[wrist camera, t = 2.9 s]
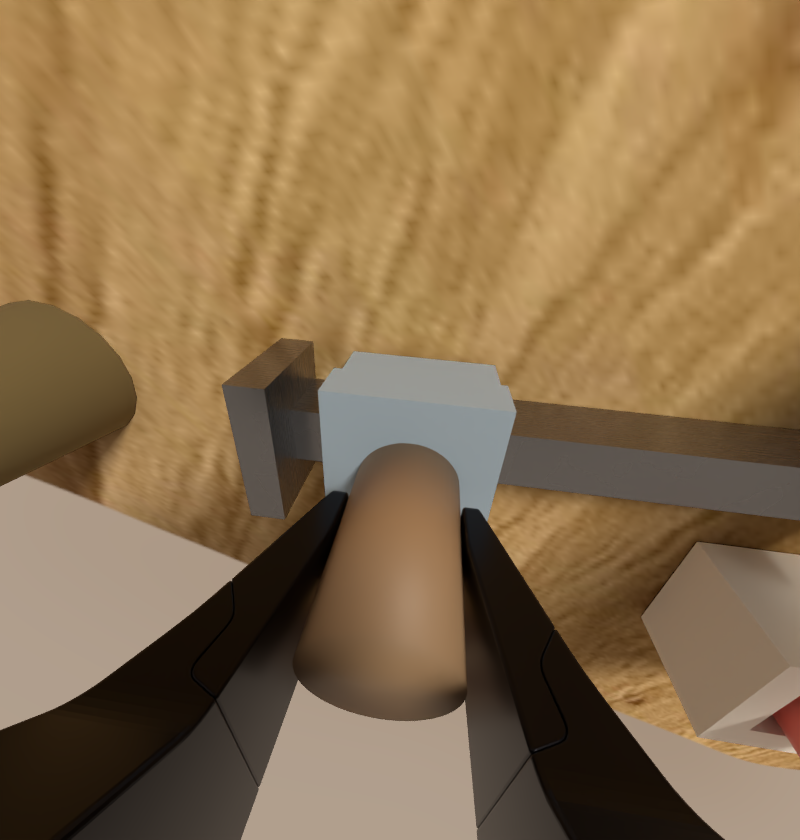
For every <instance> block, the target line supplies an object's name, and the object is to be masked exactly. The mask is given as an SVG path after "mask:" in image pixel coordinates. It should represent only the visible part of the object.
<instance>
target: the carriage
mask: <svg viewBox="0 0 800 840" xmlns="http://www.w3.org/2000/svg"><path fill="white" fill-rule="evenodd" d="M318 400H319V414H320V428H321V443H322V457H323V471H324V485H325V497H326V496H327V495H328V494H329V493H330V492H332V491H334V490H336V491H344V492H347V493H348V496H349V498H348V501H347V504H346V507H345V510H344V513H343V516H342V518H341V521H340V524H339V527H338V530H337V533H336V536H335V539H334V542H333V544H332V547H331V550H330V553H329V556H328V559H327V562H326V565H325V568H324V570H323V573H322V576H321V579H320V582H319V585H318V588H317V591H316V594H315V597H314V599H313V602H312V605H311V608H310V611H309V614H308V617H307V620H306V623H305V625H304V628H303V631H302V634H301V637H300V640H299V643H298V646H297V649H296V651H295V654H294V657H293V662H292V664H293V670H294V673H295V675H296V677H297V679H298V680H299V681H300V682H301V684H302V685H303V686H304V687H305V688H306V689H308V690H309V691H310V692H312V693H313V694H314V695H316V696H317V697H319V698H320V699H322V700H324V701H326V702H328V703H329V704H332V705H334V706H336V707H338V708H341V709H344V710H346V711H349V712H353V713H356V714H360V715H364V716H368V717H373V718H378V719H385V720H395V721H417V720H426V719H432V718H436V717H440V716H443V715H446V714H448V713H450V712H452V711H454V710H456V709H457V708H458V707H460V706H461V705H462V703H463V702H464V700H465V699H466V696H467V667H466V641H465V616H464V590H463V564H462V538H461V513H462V509H463V508H464V507H468V508H476V509H479V510H480V512H481V513H482V515H483V516H484V518H485V519H486V521H487V520H488V517H489V513H490V509H491V505H492V502H493V498H494V494H495V491H496V487H497V483H498V479H499V476H500V472H501V468H502V465H503V461H504V457H505V453H506V450H507V446H508V442H509V439H510V435H511V431H512V427H513V424H514V420H515V416H516V413H517V412H516V409H515V406H514V403H513V400H512V397H511V394H510V391H509V388H508V386H504V385H501V384H500V380H499V377H498V374H497V370H496V367H495V365H486V364H476V363H466V362H456V361H446V360H436V359H426V358H416V357H406V356H396V355H386V354H376V353H366V352H356V351H354V352H353V354H352V355H351V357H350V358H349V360H348V361H347V363H346V364H345V366H344V367H343V369H340V368H334V369H333V370H332V372H331V373H330V374H329V376H328V377H327V379H326V380H325V381H324V383H323V384H322V385H321V387H320V388H319V390H318Z"/></svg>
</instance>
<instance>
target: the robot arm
mask: <svg viewBox="0 0 800 840" xmlns="http://www.w3.org/2000/svg"><path fill="white" fill-rule="evenodd" d="M348 498H349V496H348V493H347V492H344V491H336V490H334V491H332V492H330V493H329V494H328V495H327V496H326V497H325V498H324V499H322V500H321V501H320V502H319V503H318V504H317V505H316V506H314V507H313V508H312V509H311V510H310V511H309V512H308V513H306V514H305V515H304V516H303V517H302V518H301V519H300V520H299V521H297V522H296V523H295V524H294V525H293V526H292V527H291V528H289V529H288V530H287V531H286V532H285V533H284V534H283V535H281V536H280V537H279V538H278V539H277V540H276V541H275V542H274V543H272V544H271V545H270V546H269V547H268V548H267V549H266V550H264V551H263V552H262V553H261V554H260V555H259V556H258V557H256V558H255V559H254V560H253V561H252V562H251V563H250V564H249V565H247V566H246V567H245V568H244V569H243V570H242V571H241V572H239V573H238V574H237V575H236V576H235V577H234V578H233V579H232V581H229V582H228V583H227V584H226V585H225V586H223V587H222V588H221V589H220V590H219V591H218V592H217V593H215V594H214V595H213V596H212V597H211V598H210V599H208V600H207V601H206V602H205V603H203V604H202V605H201V606H200V607H199V608H198V609H196V610H195V611H194V612H193V613H191V614H190V615H189V616H187V617H186V618H185V619H184V620H182V621H181V622H180V623H179V624H177V625H176V626H175V627H173V628H172V629H171V630H169V631H168V632H167V633H165V634H164V635H163V636H161V637H160V638H159V639H157V640H156V641H155V642H153V643H152V644H151V645H149V646H148V647H147V648H145V649H144V650H143V651H141V652H140V653H139V654H137V655H136V656H135V657H133V658H132V659H130V660H129V661H128V662H126V663H125V664H124V665H123V666H121V667H120V668H118V669H117V670H116V671H114V672H113V673H112V674H110V675H109V676H108V677H106V678H105V679H104V680H102V681H101V682H99V683H98V684H97V685H95V686H94V687H92V688H90V689H89V690H87V691H86V692H84V693H83V694H81V695H79V696H78V697H76V698H74V699H72V700H71V701H69V702H67V703H65V704H63V705H61V706H59V707H57V708H55V709H53V710H50V711H48V712H45V713H43V714H41V715H38V716H35V717H33V718H30V719H28V720H25V721H23V722H20V723H17V724H15V725H12V726H10V727H7V728H5V729H2V730H0V840H241V837H242V834H243V832H244V828H245V826H246V823H247V820H248V818H249V815H250V812H251V809H252V807H253V804H254V801H255V798H256V795H257V792H258V787H259V786H260V784H261V781H262V778H263V775H264V773H265V770H266V767H267V764H268V762H269V759H270V756H271V753H272V750H273V748H274V745H275V742H276V739H277V737H278V734H279V731H280V728H281V726H282V723H283V720H284V717H285V714H286V712H287V709H288V706H289V703H290V701H291V698H292V695H293V692H294V689H295V686H296V684H297V681H298V679H297V677H296V675H295V673H294V670H293V664H292V662H293V657H294V654H295V651H296V649H297V646H298V643H299V640H300V637H301V634H302V631H303V628H304V625H305V623H306V620H307V617H308V614H309V611H310V608H311V605H312V602H313V599H314V597H315V594H316V591H317V588H318V585H319V582H320V579H321V576H322V573H323V570H324V568H325V565H326V562H327V559H328V556H329V553H330V550H331V547H332V544H333V542H334V539H335V536H336V533H337V530H338V527H339V524H340V521H341V518H342V516H343V513H344V510H345V507H346V504H347V501H348ZM461 538H462V564H463V590H464V616H465V641H466V667H467V696H466V699H465V703H466V714H467V725H468V737H469V748H470V758H471V770H472V781H473V793H474V804H475V814H476V826H477V828H478V830H477V839H478V840H725V839H723V838H722V837H721V836H720V835H719V834H718V833H717V832H715V831H714V830H713V829H712V828H711V827H710V826H709V825H708V824H707V823H705V822H704V821H703V820H702V819H701V818H700V817H699V816H698V815H697V814H696V813H695V812H694V811H693V810H692V808H691V807H689V806H688V804H687V803H686V802H685V801H684V800H683V799H682V798H681V797H680V795H679V794H678V793H677V792H676V791H675V790H674V789H673V787H672V786H671V785H670V783H669V782H668V781H667V780H666V778H665V777H664V776H663V775H662V773H661V772H660V771H659V769H658V768H657V767H656V766H655V764H654V763H653V762H652V760H651V759H650V758H649V756H648V755H647V754H646V753H645V751H644V750H643V749H642V747H641V746H640V745H639V743H638V742H637V741H636V739H635V738H634V737H633V736H632V734H631V733H630V732H629V730H628V729H627V728H626V726H625V725H624V724H623V723H622V721H621V720H620V719H619V718H618V716H617V715H616V713H615V712H614V711H613V709H612V708H611V707H610V706H609V704H608V703H607V702H606V700H605V699H604V698H603V696H602V695H601V694H600V692H599V691H598V690H597V688H596V687H595V685H594V684H593V683H592V681H591V680H590V679H589V677H588V676H587V675H586V673H585V672H584V670H583V669H582V667H581V666H580V664H579V663H578V661H577V660H576V659H575V657H574V656H573V654H572V653H571V651H570V650H569V648H568V647H567V645H566V644H565V642H564V640H563V639H562V637H561V636H560V634H559V633H558V631H557V630H554V625H553V623H552V622H551V620H550V619H549V617H548V616H547V614H546V613H545V611H544V609H543V608H542V606H541V605H540V603H539V602H538V600H537V599H536V597H535V595H534V594H533V592H532V591H531V589H530V588H529V586H528V585H527V583H526V581H525V580H524V578H523V577H522V575H521V574H520V572H519V571H518V569H517V567H516V566H515V564H514V563H513V561H512V560H511V558H510V557H509V555H508V553H507V552H506V550H505V549H504V547H503V546H502V544H501V543H500V541H499V539H498V538H497V536H496V535H495V533H494V532H493V530H492V529H491V527H490V525H489V524H488V522H487V521H486V519H485V518H484V516H483V515H482V513H481V512H480V510H479V509H476V508H468V507H464V508H463V509H462V513H461ZM553 630H554V631H553Z"/></svg>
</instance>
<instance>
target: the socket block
mask: <svg viewBox="0 0 800 840" xmlns="http://www.w3.org/2000/svg"><path fill="white" fill-rule="evenodd" d="M641 618H642V620H643V623H644V625H645V627H646V629H647V631H648V633H649V635H650V637H651V640H652V642H653V644H654V646H655V648H656V650H657V652H658V654H659V657H660V659H661V661H662V663H663V665H664V667H665V669H666V671H667V674H668V676H669V678H670V680H671V682H672V684H673V686H674V689H675V691H676V693H677V695H678V697H679V699H680V701H681V703H682V706H683V708H684V710H685V712H686V714H687V716H688V718H689V720H690V723H691V725H692V727H693V729H694V731H695V733H696V735H697V737H700V738H706V739H712V740H718V741H724V742H730V743H736V744H742V745H748V746H754V747H760V748H766V749H772V750H778V751H784V752H790V753H796V754H797V752H796V751H795V749H794V748H793V746H792V745H791V743H790V741H789V740H788V738H787V737H786V735H785V734H784V732H783V731H782V729H781V727H780V726H779V724H778V723H777V721H776V720H775V718H774V716H773V715H772V714H774V713H775V712H777V711H778V710H780V709H781V708H783V707H784V706H786V705H787V704H789V703H790V702H792V701H793V700H794V699H796V698H797V697H799V696H800V555H796V554H789V553H781V552H773V551H766V550H758V549H750V548H742V547H735V546H727V545H719V544H712V543H704V542H697V543H696V544H695V545H694V547H693V548H692V549H691V551H690V552H689V553H688V555H687V556H686V557H685V559H684V560H683V561H682V563H681V564H680V565H679V567H678V568H677V569H676V571H675V572H674V573H673V575H672V576H671V577H670V579H669V580H668V581H667V583H666V584H665V585H664V587H663V588H662V589H661V591H660V592H659V593H658V595H657V596H656V597H655V599H654V600H653V601H652V603H651V604H650V605H649V607H648V608H647V610H646V611H645V612H644V614H643V615H642V616H641Z"/></svg>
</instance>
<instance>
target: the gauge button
mask: <svg viewBox="0 0 800 840" xmlns="http://www.w3.org/2000/svg"><path fill="white" fill-rule="evenodd" d="M772 715H773V716H774V718H775V720H776V721H777V723H778V724H779V726H780V727H781V729H782V731H783V732H784V734H785V735H786V737H787V738H788V740H789V741H790V743H791V745H792V746H793V748H794V749H795V751H796V752H797V754H798V756H799V757H800V696H799V697H797V698H796V699H794V700H793V701H792V702H790V703H789V704H787V705H786V706H784V707H783V708H781V709H780V710H778V711H777V712H775V713H774V714H772Z"/></svg>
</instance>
